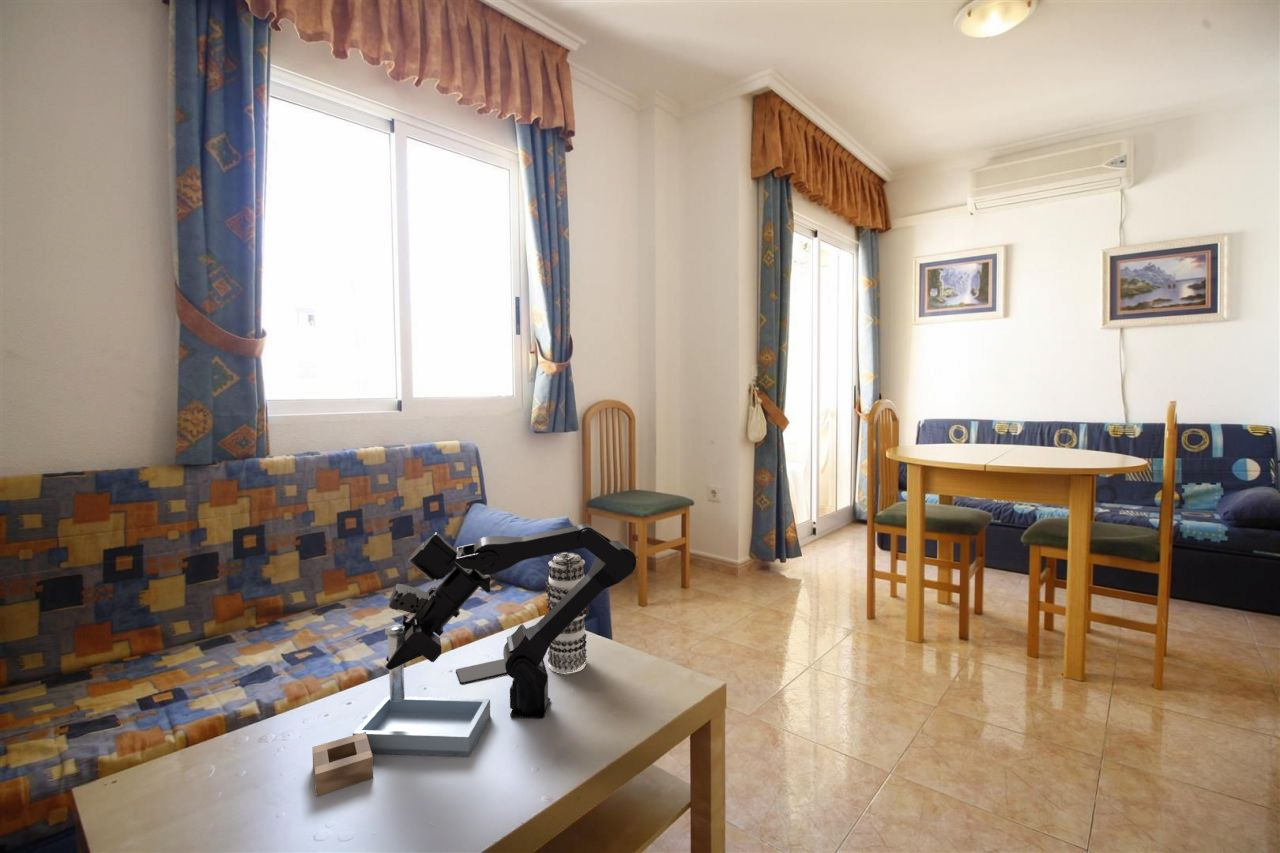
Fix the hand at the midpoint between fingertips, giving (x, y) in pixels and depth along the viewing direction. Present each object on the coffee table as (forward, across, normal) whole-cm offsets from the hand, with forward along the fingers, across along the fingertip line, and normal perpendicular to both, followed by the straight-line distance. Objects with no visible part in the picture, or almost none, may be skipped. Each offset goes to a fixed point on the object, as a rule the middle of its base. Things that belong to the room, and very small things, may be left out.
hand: (387, 664), depth 104 cm
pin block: (+14, +8, +4) cm, 17 cm away
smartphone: (-5, -18, +24) cm, 30 cm away
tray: (+5, +2, +13) cm, 14 cm away
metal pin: (+4, 0, +6) cm, 7 cm away
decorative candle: (-16, -14, +35) cm, 41 cm away
